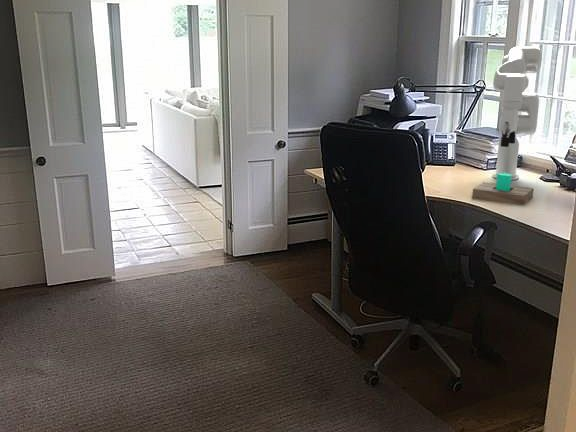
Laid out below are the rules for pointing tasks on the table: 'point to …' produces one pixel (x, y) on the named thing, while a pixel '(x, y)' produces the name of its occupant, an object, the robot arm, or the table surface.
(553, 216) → the table surface
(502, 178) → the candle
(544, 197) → the table surface
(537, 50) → the robot arm
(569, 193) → the table surface
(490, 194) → the wooden socket board
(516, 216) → the table surface
